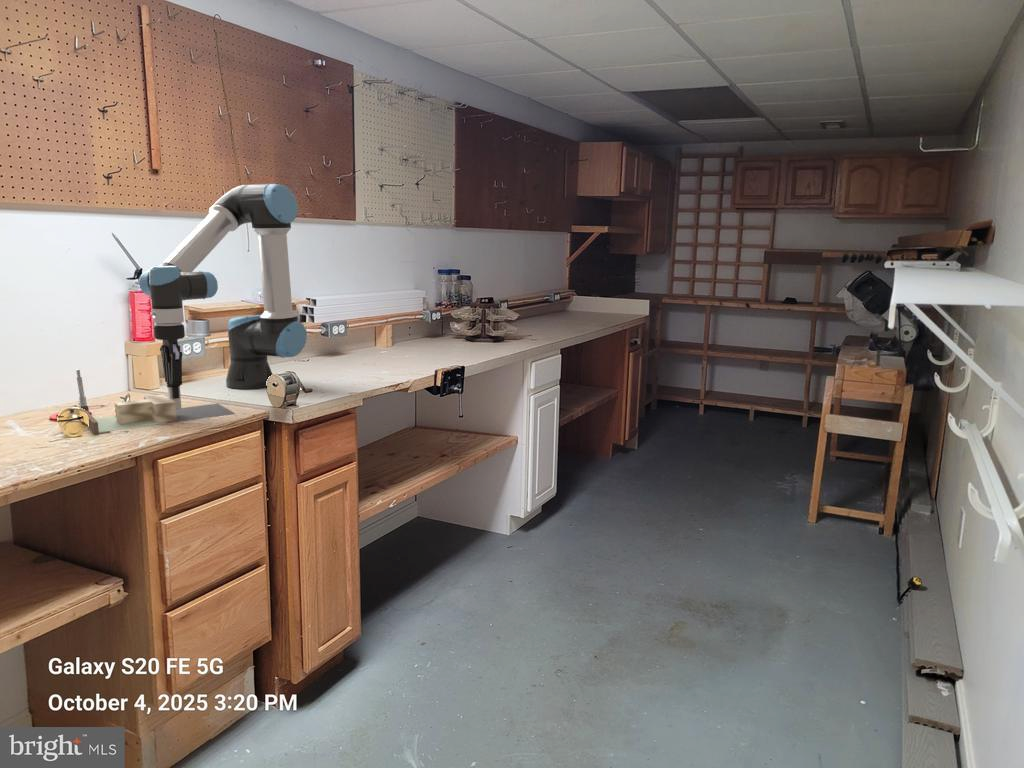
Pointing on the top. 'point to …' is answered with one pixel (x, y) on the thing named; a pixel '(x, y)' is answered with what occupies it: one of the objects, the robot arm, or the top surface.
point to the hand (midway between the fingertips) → (175, 409)
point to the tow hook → (82, 397)
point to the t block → (146, 410)
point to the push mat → (181, 415)
